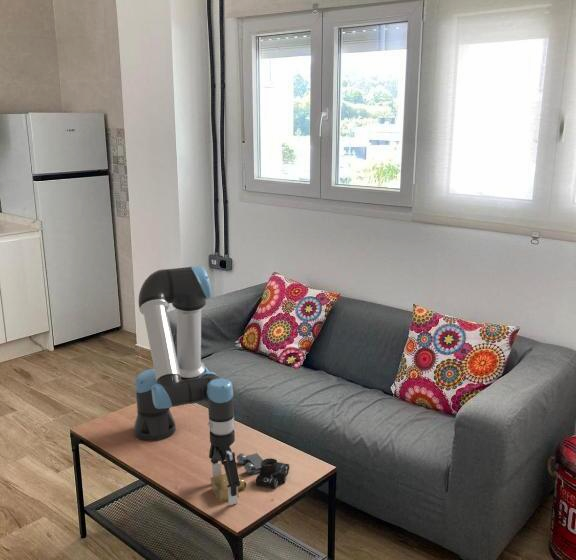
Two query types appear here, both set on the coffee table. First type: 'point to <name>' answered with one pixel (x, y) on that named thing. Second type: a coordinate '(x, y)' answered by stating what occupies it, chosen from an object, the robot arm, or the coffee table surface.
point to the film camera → (272, 473)
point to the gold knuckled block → (224, 486)
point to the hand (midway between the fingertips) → (224, 492)
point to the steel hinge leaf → (250, 463)
